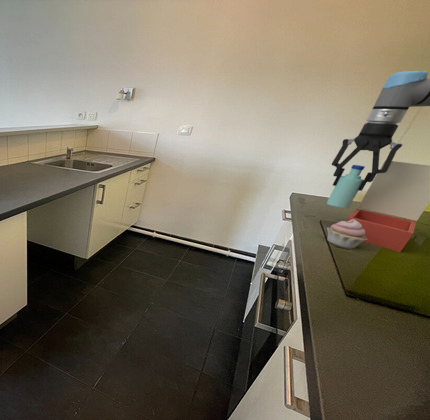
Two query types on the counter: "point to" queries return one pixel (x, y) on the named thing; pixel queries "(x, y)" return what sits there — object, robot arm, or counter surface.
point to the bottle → (346, 188)
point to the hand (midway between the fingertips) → (347, 187)
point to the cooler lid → (399, 191)
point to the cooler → (384, 229)
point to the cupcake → (346, 234)
